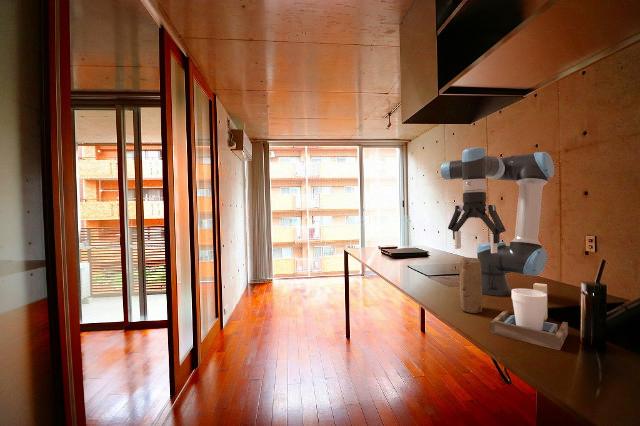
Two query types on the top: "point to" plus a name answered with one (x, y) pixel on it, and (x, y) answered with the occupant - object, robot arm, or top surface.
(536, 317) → the foam cup
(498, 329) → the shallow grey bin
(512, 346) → the top surface
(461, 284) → the block
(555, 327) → the tray
